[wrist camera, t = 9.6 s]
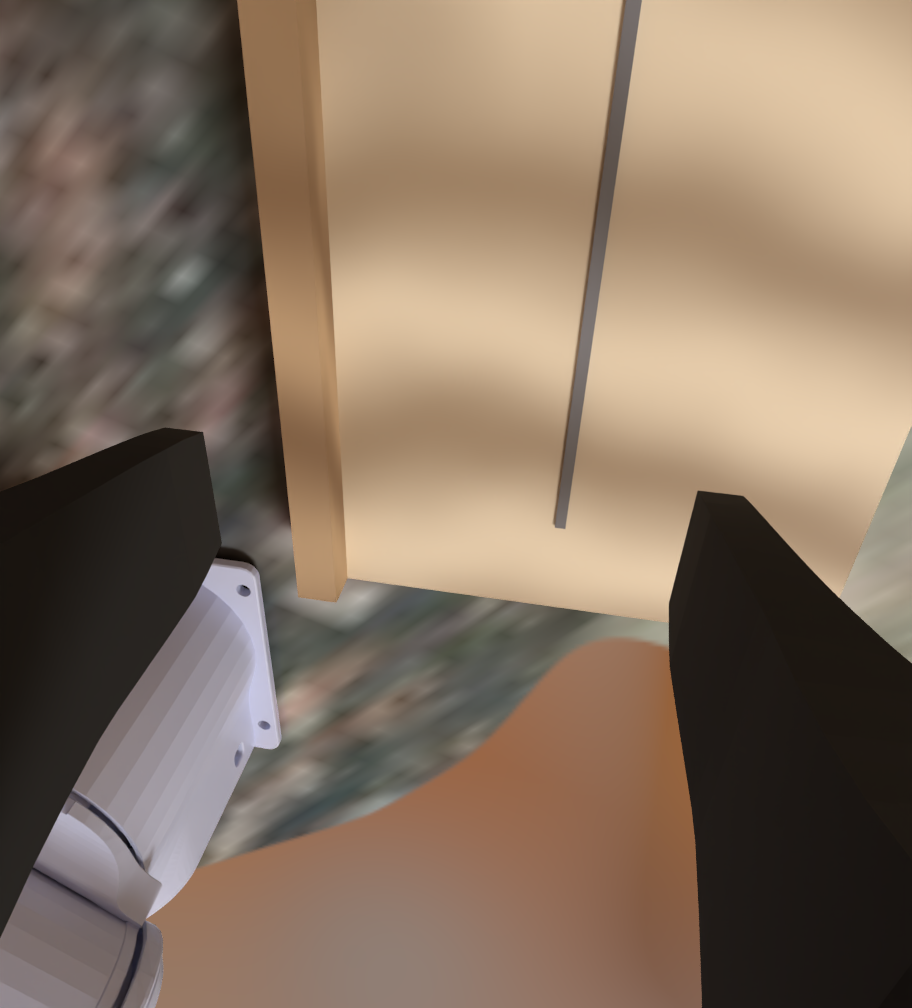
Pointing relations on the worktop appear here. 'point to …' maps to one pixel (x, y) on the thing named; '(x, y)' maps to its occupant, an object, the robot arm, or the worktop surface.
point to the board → (580, 282)
